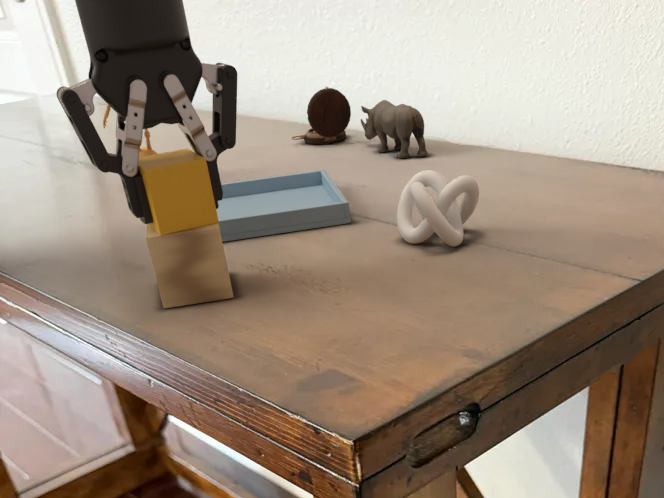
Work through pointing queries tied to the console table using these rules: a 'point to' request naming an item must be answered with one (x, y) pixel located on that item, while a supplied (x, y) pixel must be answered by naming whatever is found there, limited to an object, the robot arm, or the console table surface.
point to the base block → (189, 265)
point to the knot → (436, 207)
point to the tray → (280, 205)
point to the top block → (178, 191)
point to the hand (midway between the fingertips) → (179, 213)
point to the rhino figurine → (395, 126)
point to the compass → (327, 117)
